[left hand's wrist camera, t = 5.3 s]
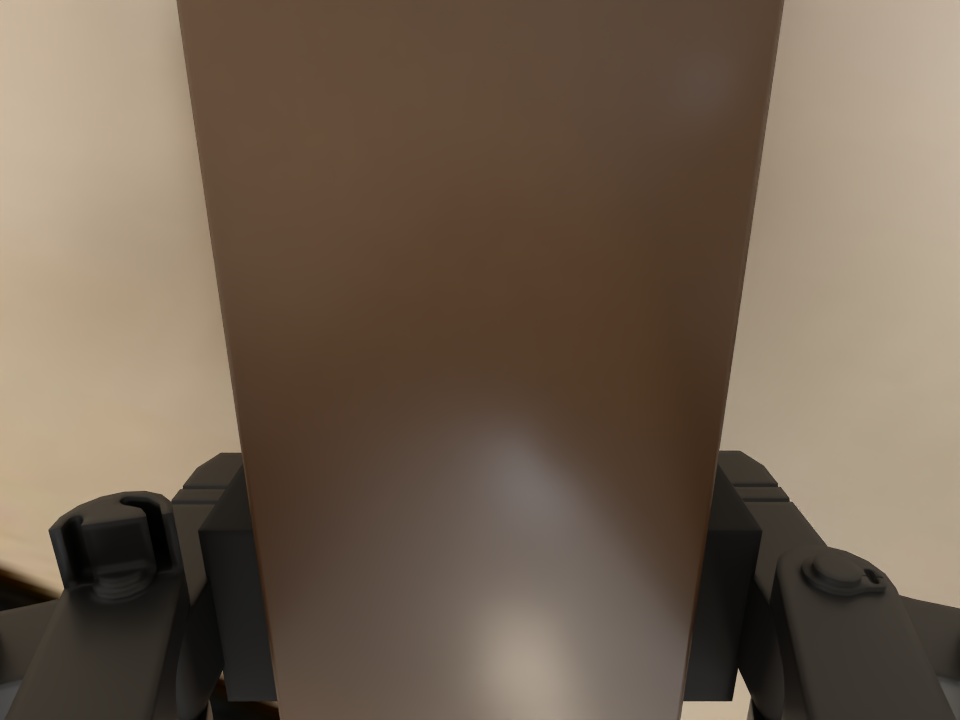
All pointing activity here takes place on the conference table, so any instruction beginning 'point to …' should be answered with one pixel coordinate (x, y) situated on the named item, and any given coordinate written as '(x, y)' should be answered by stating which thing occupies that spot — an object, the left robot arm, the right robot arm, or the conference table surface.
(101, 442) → the conference table surface
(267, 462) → the beam
